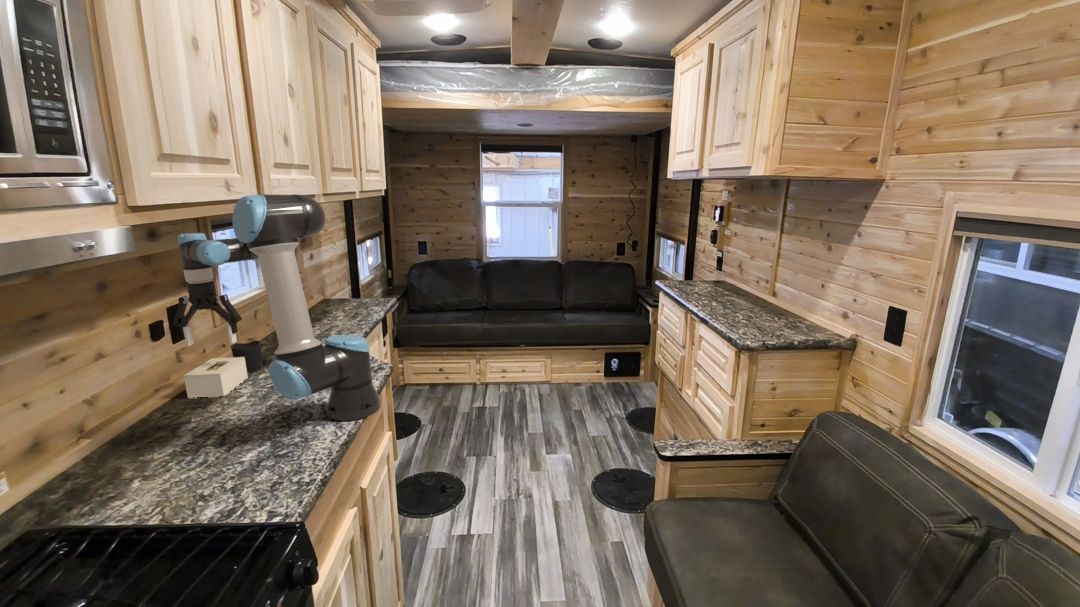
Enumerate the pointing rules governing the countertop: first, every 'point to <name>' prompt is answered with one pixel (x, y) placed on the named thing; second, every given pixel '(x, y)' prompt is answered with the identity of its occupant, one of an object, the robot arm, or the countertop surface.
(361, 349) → the robot arm
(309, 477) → the countertop surface
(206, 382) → the box
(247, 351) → the pen holder
